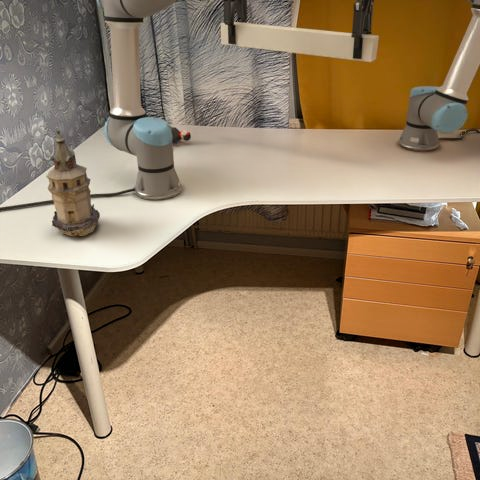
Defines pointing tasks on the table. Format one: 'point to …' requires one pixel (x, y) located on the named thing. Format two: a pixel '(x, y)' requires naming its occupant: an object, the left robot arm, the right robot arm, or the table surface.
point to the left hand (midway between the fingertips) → (236, 42)
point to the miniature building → (70, 193)
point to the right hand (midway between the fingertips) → (360, 56)
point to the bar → (300, 41)
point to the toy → (179, 135)
